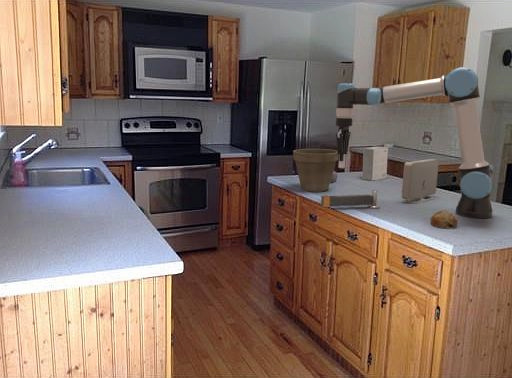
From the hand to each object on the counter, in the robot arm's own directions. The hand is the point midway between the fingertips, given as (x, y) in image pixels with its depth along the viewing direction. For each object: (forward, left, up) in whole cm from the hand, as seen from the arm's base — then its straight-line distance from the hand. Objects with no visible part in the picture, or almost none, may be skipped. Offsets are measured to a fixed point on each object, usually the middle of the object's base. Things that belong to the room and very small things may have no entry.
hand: (341, 167), depth 222 cm
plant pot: (+38, +1, -18) cm, 42 cm away
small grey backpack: (+59, -9, -19) cm, 63 cm away
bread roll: (-39, -30, -19) cm, 53 cm away
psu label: (+16, -15, -18) cm, 28 cm away
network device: (+7, -45, -18) cm, 49 cm away
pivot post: (-6, -15, -18) cm, 24 cm away
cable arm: (-7, -1, -17) cm, 18 cm away
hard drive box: (+66, -47, -18) cm, 83 cm away
